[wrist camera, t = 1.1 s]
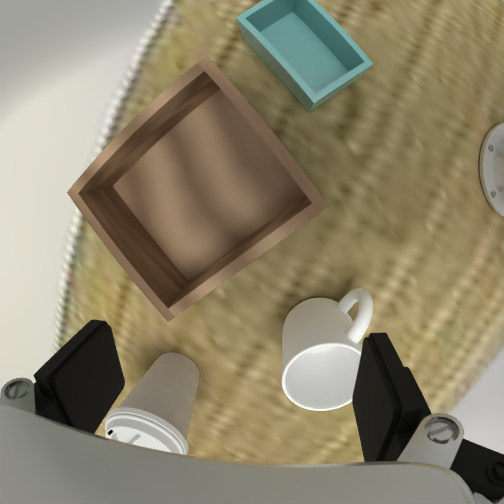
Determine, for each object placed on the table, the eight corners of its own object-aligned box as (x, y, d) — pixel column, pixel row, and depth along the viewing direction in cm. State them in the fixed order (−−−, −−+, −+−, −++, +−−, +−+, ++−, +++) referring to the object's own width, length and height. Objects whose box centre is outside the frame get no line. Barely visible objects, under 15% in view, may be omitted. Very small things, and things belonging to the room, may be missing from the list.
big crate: (224, 78, 30) (207, 55, 22) (317, 195, 32) (329, 205, 25) (106, 184, 34) (67, 192, 26) (189, 289, 37) (168, 321, 29)
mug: (329, 255, 34) (347, 292, 24) (383, 292, 35) (414, 337, 25) (269, 334, 38) (264, 389, 28) (322, 364, 38) (331, 421, 28)
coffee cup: (185, 332, 39) (143, 414, 24) (224, 386, 40) (202, 473, 26) (132, 354, 41) (82, 425, 26) (170, 402, 42) (137, 478, 28)
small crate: (293, 7, 27) (295, -18, 21) (358, 79, 29) (373, 64, 23) (243, 39, 28) (235, 17, 23) (308, 113, 30) (314, 103, 25)
